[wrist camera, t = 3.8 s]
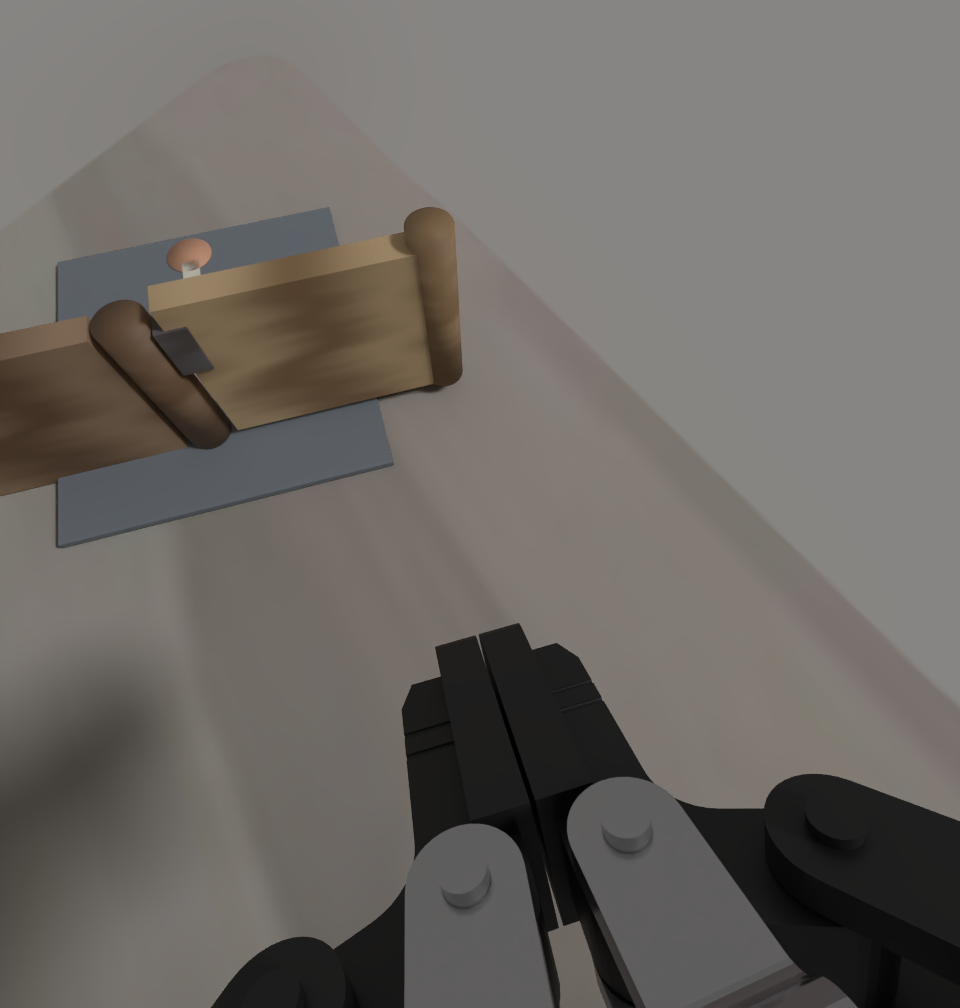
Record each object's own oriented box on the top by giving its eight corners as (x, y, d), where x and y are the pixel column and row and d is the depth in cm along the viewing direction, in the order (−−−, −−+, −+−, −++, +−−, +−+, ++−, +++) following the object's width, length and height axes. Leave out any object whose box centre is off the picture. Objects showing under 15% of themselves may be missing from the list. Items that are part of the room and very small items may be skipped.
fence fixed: (0, 503, 27) (-179, 409, 20) (2, 465, 28) (-171, 361, 21) (236, 446, 28) (148, 337, 21) (231, 412, 29) (145, 294, 22)
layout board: (62, 548, 26) (57, 545, 26) (61, 266, 33) (56, 261, 32) (393, 465, 28) (392, 461, 27) (330, 211, 34) (328, 206, 34)
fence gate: (230, 437, 28) (128, 309, 20) (225, 405, 28) (125, 269, 20) (466, 381, 29) (460, 238, 21) (457, 351, 29) (447, 203, 22)
